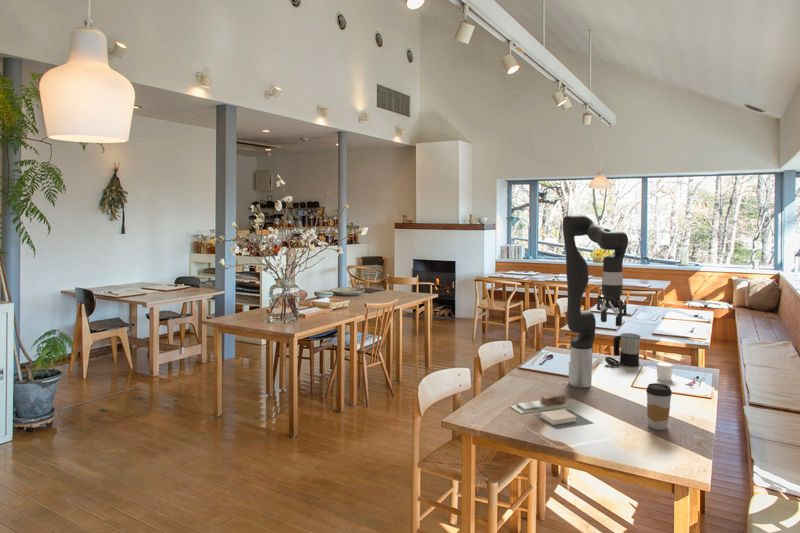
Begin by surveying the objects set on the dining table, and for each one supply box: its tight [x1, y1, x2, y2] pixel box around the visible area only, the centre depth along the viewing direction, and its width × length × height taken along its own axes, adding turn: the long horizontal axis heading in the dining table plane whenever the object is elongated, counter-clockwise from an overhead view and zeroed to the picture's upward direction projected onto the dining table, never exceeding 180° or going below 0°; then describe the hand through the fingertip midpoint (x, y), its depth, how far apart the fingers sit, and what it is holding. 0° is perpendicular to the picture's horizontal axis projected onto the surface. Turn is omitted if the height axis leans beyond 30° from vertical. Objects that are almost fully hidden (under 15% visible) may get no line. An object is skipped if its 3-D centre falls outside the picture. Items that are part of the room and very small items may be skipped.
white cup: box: [656, 361, 674, 382], centre depth 262 cm, size 7×7×7 cm
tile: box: [540, 408, 576, 425], centre depth 213 cm, size 8×2×10 cm
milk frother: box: [604, 332, 642, 367], centre depth 285 cm, size 14×16×15 cm
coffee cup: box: [645, 382, 672, 431], centre depth 206 cm, size 8×8×15 cm
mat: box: [533, 409, 594, 430], centre depth 214 cm, size 15×16×1 cm
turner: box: [516, 393, 566, 411], centre depth 227 cm, size 19×6×3 cm, turn 109°
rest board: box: [509, 403, 570, 415], centre depth 227 cm, size 8×22×1 cm, turn 109°
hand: (610, 324), depth 225 cm, fingers open, 8 cm apart
